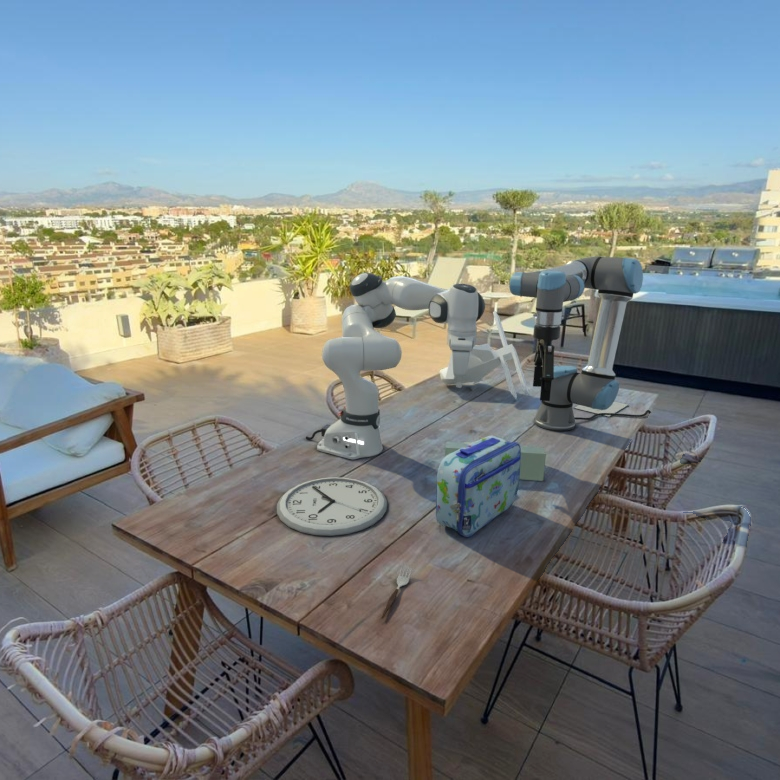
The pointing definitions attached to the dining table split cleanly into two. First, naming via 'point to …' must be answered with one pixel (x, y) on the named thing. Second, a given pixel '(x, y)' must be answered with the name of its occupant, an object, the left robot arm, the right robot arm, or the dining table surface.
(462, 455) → the lunch box
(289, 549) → the dining table surface
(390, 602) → the fork
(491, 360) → the white plastic object
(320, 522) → the wall clock
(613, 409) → the invitation card
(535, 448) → the sage box
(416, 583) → the dining table surface
